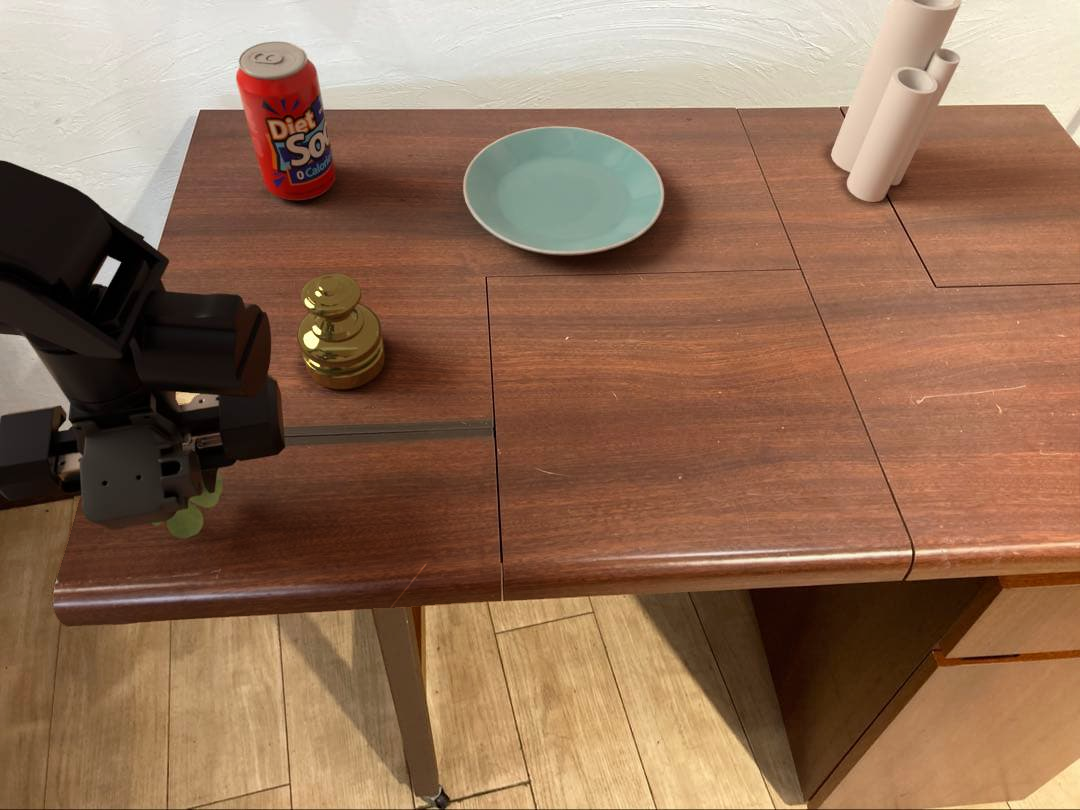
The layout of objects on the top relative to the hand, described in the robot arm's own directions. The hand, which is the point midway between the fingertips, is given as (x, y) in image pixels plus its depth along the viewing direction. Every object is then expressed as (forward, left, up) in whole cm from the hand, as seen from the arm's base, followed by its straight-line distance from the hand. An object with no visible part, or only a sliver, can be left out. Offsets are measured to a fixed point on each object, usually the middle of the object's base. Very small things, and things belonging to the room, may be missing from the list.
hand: (180, 494), depth 64 cm
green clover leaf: (0, 0, -1) cm, 1 cm away
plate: (+40, +31, -2) cm, 51 cm away
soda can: (+12, +40, -2) cm, 42 cm away
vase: (+78, +30, -2) cm, 84 cm away
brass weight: (+14, +13, -2) cm, 19 cm away
